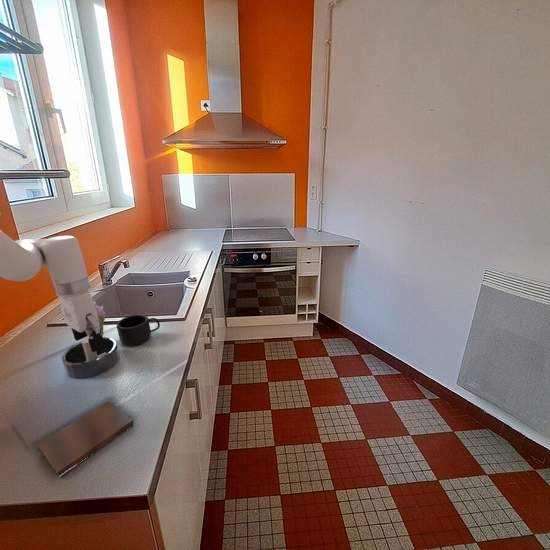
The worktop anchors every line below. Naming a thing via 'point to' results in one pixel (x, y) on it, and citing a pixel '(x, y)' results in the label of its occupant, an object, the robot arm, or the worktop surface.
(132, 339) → the mug
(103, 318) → the ice cream cone
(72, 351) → the round grey bowl
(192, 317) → the worktop surface
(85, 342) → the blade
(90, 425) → the cutting board
